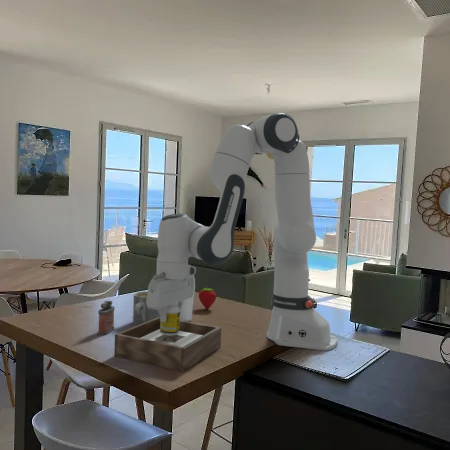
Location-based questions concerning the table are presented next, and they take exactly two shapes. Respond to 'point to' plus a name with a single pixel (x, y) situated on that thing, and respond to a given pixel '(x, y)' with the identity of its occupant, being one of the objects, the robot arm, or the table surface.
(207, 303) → the strawberry
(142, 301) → the coffee mug
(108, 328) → the lighter
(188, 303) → the drinking glass
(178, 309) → the supplement bottle
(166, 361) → the crate
